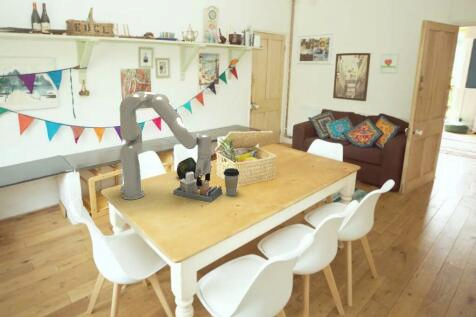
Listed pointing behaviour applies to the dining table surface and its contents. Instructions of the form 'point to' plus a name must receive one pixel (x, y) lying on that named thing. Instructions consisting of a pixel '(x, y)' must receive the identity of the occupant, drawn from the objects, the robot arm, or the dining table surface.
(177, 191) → the tray
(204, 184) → the jar
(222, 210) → the dining table surface
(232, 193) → the coffee cup
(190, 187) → the container
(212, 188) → the pusher
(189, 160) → the squash
